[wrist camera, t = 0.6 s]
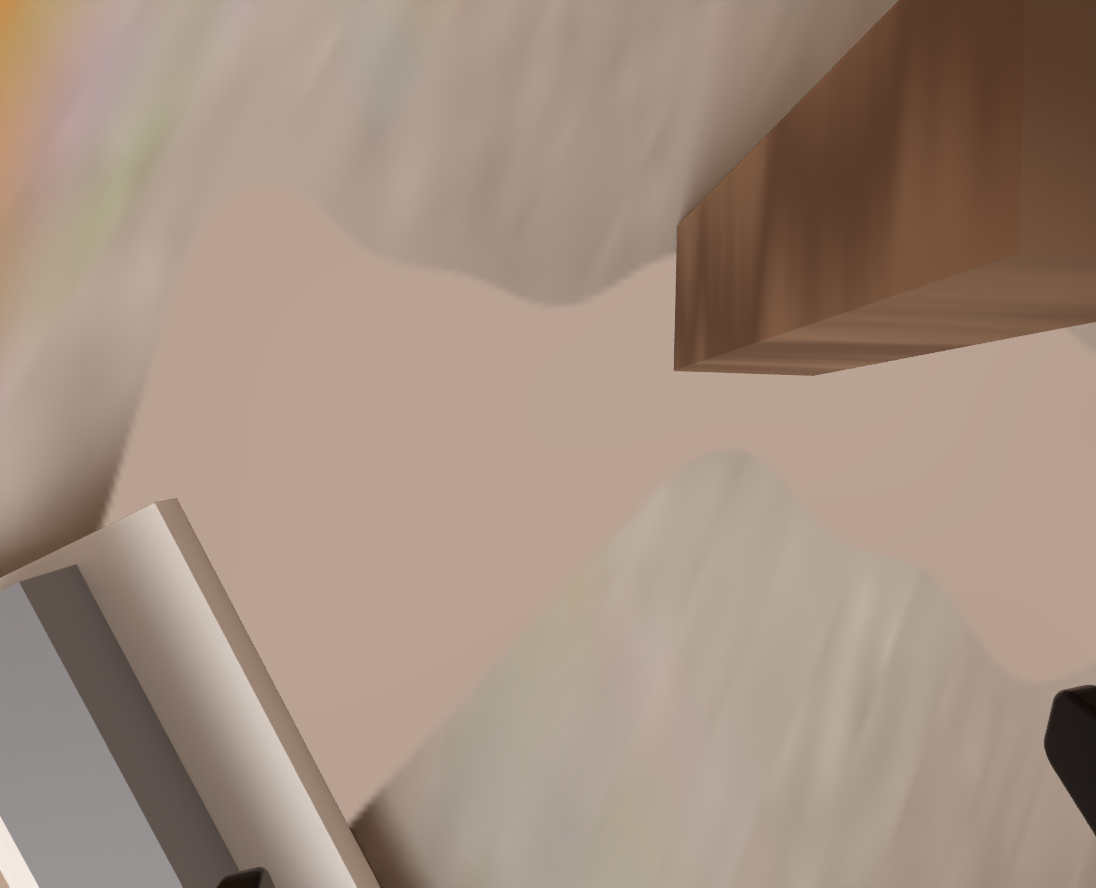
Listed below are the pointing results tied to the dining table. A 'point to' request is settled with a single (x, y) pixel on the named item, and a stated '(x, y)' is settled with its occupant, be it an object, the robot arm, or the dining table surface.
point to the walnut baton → (906, 199)
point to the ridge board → (212, 702)
